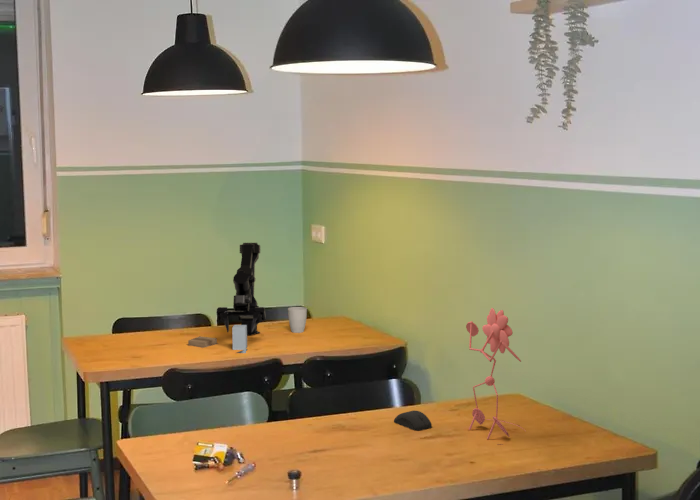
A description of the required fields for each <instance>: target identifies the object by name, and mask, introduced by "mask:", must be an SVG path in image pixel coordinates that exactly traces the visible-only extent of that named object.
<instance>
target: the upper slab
mask: <svg viewBox="0 0 700 500" xmlns="http://www.w3.org/2000/svg"><path fill="white" fill-rule="evenodd" d="M217 341H218V340H217V338H216V337H207V336H202V335H200V336H197V337H194V338H191V339H188V340H187V342H188V343H187V346H190V347H195V346H198V347H197V348H201V347H204V348H208V347H211V345H212V346H214V345H213V344H216V343H218V342H217ZM216 345H217V344H216Z"/></svg>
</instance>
